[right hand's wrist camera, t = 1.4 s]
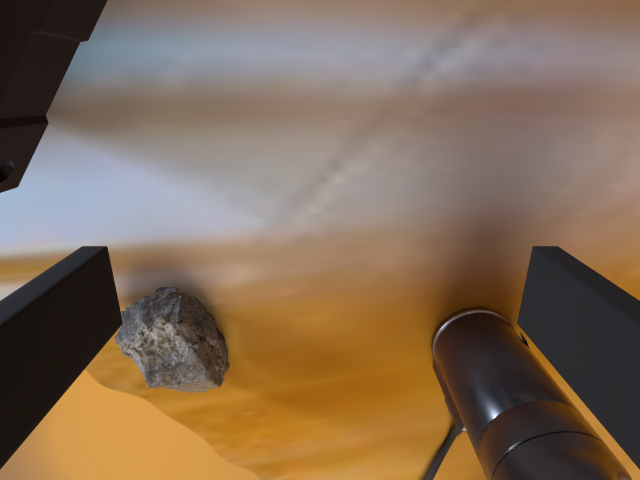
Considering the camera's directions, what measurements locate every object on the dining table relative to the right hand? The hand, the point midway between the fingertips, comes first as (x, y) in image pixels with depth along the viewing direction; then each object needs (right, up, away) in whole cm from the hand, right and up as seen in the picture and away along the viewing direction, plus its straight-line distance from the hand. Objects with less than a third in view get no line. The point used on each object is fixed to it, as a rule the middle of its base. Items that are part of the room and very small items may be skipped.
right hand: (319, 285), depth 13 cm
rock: (-15, -9, +33) cm, 38 cm away
